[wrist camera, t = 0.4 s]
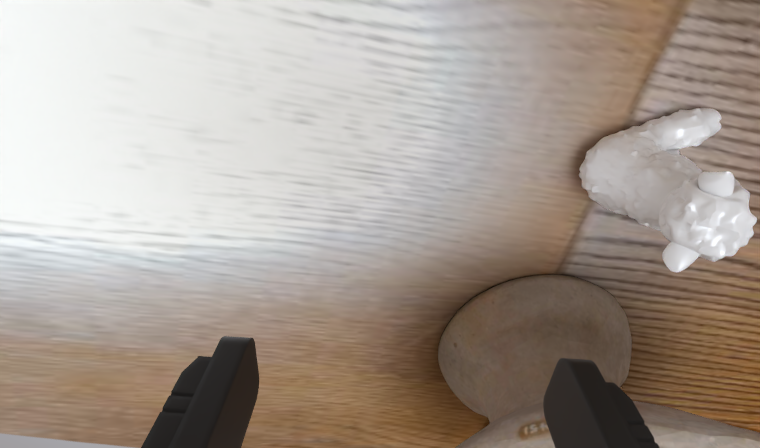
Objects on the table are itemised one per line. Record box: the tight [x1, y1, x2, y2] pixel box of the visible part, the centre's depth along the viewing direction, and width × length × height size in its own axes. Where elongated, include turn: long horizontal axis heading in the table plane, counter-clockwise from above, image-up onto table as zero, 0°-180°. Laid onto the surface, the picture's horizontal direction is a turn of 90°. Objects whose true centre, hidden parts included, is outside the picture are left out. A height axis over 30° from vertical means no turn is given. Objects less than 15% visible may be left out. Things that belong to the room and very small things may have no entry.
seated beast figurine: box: [579, 108, 757, 272], centre depth 26 cm, size 10×9×12 cm
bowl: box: [438, 275, 760, 448], centre depth 32 cm, size 26×25×20 cm
